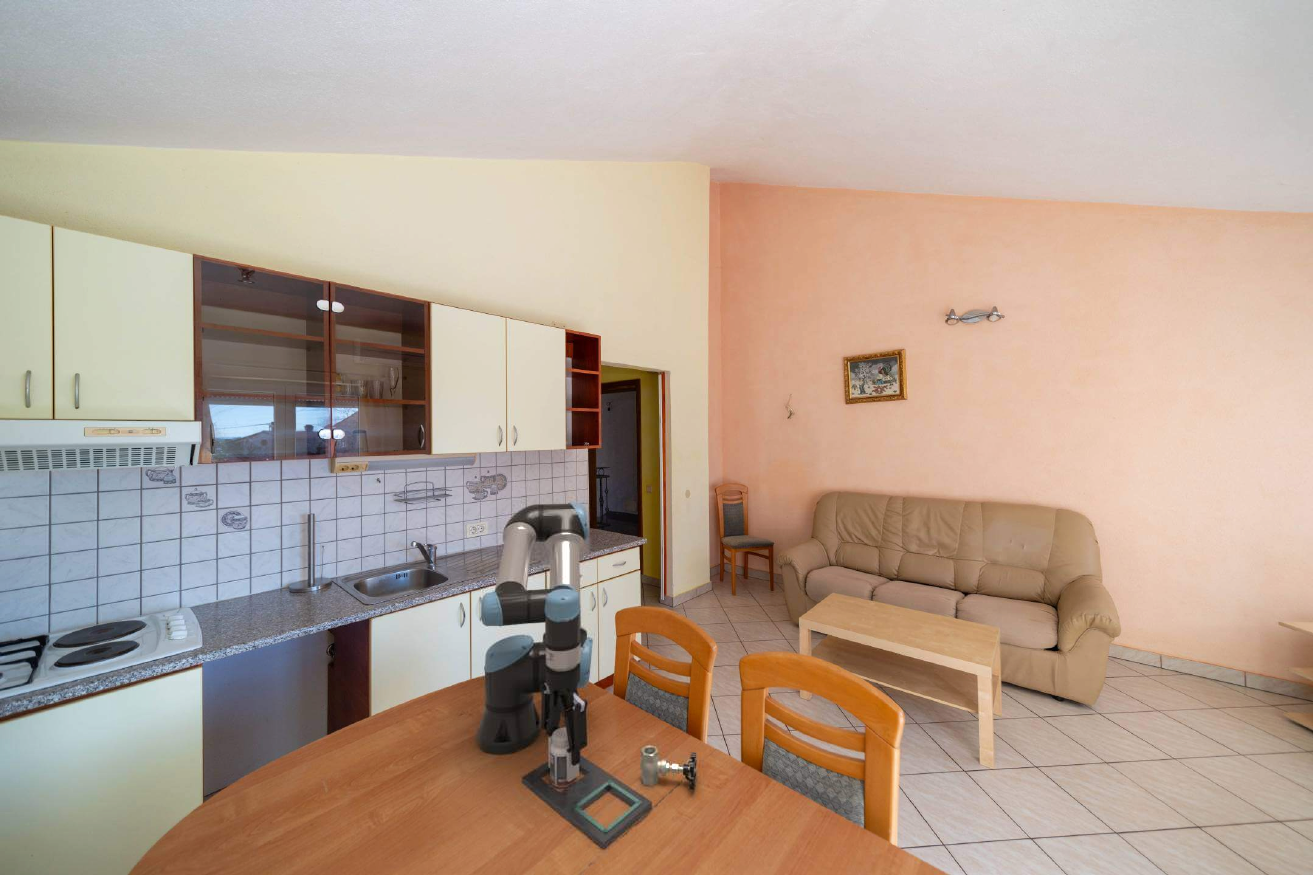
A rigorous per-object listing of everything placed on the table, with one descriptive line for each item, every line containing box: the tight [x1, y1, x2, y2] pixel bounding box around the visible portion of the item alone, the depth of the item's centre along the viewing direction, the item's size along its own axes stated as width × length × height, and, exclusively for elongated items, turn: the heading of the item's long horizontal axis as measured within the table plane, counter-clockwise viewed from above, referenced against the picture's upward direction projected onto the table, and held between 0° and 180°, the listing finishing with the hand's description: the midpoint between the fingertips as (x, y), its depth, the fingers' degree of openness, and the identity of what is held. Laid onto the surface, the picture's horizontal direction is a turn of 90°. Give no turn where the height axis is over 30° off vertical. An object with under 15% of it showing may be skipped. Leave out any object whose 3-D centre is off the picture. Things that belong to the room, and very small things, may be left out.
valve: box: [639, 744, 698, 791], centre depth 103 cm, size 7×7×12 cm
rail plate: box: [521, 754, 653, 850], centre depth 99 cm, size 26×13×1 cm, turn 49°
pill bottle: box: [549, 726, 578, 789], centre depth 104 cm, size 6×6×10 cm
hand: (563, 770), depth 104 cm, fingers closed on pill bottle, 6 cm apart
